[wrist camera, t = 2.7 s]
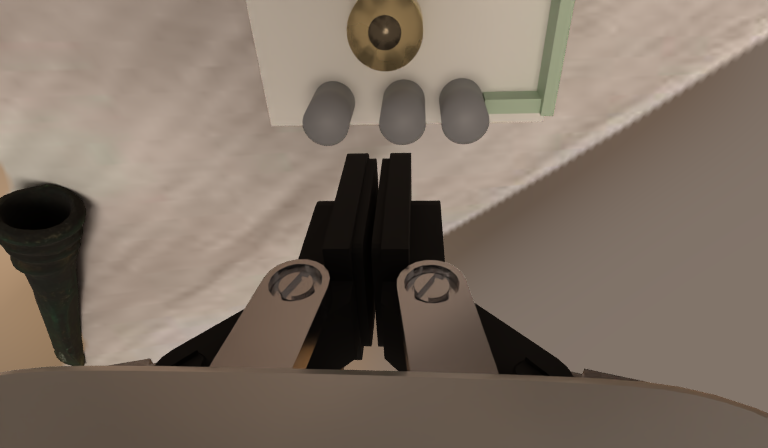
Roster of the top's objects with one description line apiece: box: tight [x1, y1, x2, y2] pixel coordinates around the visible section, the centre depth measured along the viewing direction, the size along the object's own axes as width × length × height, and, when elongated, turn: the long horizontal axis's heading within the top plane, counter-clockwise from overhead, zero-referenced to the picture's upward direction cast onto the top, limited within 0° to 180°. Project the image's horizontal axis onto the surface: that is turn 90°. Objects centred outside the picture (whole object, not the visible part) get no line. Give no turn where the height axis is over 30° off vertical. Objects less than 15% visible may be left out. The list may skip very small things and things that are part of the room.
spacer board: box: [246, 0, 575, 146], centre depth 28 cm, size 14×20×5 cm
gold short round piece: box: [347, 0, 423, 71], centre depth 28 cm, size 5×5×3 cm
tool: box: [0, 185, 86, 366], centre depth 45 cm, size 28×6×7 cm, turn 155°
